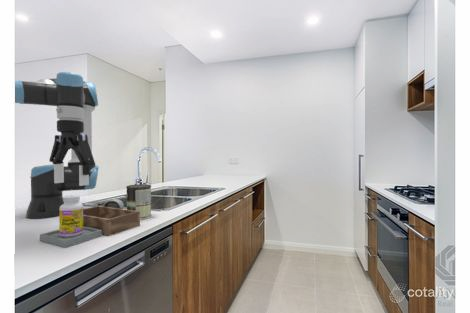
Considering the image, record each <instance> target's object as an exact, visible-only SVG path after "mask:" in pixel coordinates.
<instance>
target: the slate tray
mask: <svg viewBox="0 0 470 313" xmlns="http://www.w3.org/2000/svg"><path fill="white" fill-rule="evenodd" d="M102 236H103V235H102V230H99V229H94V228H89V227H84V226H83V233H82V234H80V235H77V236H73V237H61V236H60V231H59V229H55V230H52V231H48V232H44V233H41V234H39V242H42V243H47V244H51V245H54V246H59V247H62V248H66V249H67V248H69V247H72V246H76V245H78V244H81V243H85V242H87V241H90V240H94V239H97V238H100V237H102Z"/></svg>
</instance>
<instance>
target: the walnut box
mask: <svg viewBox="0 0 470 313" xmlns="http://www.w3.org/2000/svg"><path fill="white" fill-rule="evenodd" d="M83 226H84V227H89V228H94V229H99V230H102V236H108V237H109V236H112V235H116V234H118V233H121V232H124V231H126V230H130V229H133V228H136V227H139V226H141V220H140V211H133V210H127V208H126V209H124V208H123V209H119V208H111V207H104V206H103V205H97V206H92V207H88V208H87V207H86V208H83Z"/></svg>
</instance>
